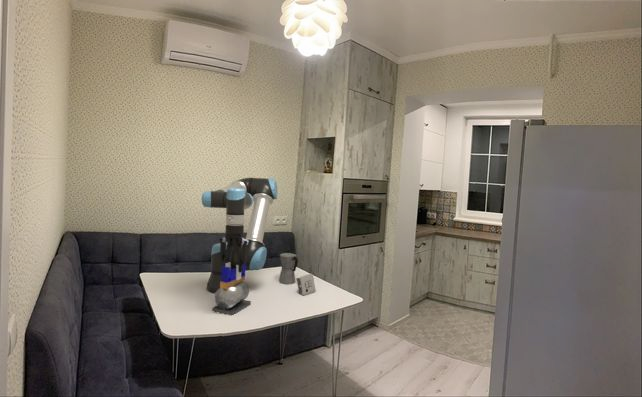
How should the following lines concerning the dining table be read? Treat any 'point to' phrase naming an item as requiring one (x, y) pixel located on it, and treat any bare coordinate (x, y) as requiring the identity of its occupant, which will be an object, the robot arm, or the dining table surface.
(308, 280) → the electrical switch
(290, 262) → the coffeepot
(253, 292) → the dining table surface
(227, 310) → the silver rounded piece
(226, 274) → the blue notched block
